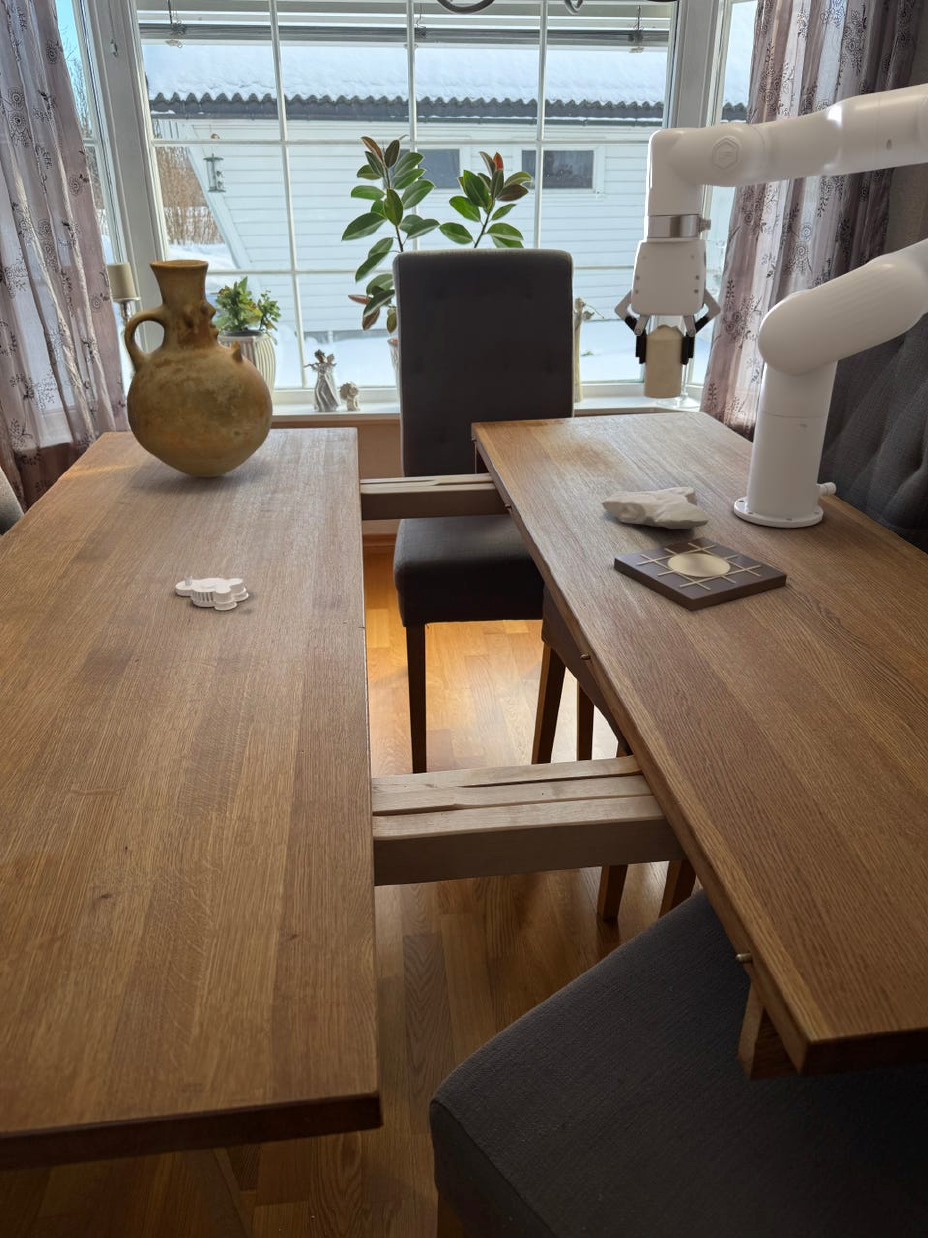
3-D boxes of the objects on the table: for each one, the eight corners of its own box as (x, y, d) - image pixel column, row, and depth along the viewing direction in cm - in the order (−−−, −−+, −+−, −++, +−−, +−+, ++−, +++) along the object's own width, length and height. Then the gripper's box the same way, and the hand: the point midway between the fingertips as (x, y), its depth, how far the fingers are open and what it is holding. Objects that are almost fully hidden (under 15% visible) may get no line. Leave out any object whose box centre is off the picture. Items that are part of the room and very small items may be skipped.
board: (702, 546, 121) (703, 535, 120) (785, 585, 109) (787, 573, 108) (613, 568, 115) (614, 556, 114) (691, 611, 103) (692, 598, 102)
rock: (596, 546, 122) (708, 543, 119) (594, 513, 121) (708, 509, 117) (608, 507, 142) (705, 504, 138) (607, 479, 140) (705, 475, 136)
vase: (133, 501, 142) (89, 268, 127) (145, 461, 163) (109, 257, 148) (283, 489, 147) (258, 263, 132) (276, 451, 168) (254, 253, 153)
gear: (254, 582, 112) (252, 567, 111) (245, 611, 104) (243, 595, 103) (179, 586, 111) (176, 570, 110) (165, 615, 104) (162, 599, 103)
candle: (639, 392, 135) (642, 324, 131) (675, 390, 135) (679, 322, 131) (648, 399, 130) (651, 328, 126) (685, 398, 130) (690, 327, 126)
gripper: (737, 226, 123) (725, 360, 131) (615, 229, 129) (610, 357, 137) (734, 228, 117) (721, 368, 125) (605, 232, 122) (601, 366, 130)
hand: (663, 361), depth 131 cm, fingers closed on candle, 5 cm apart
